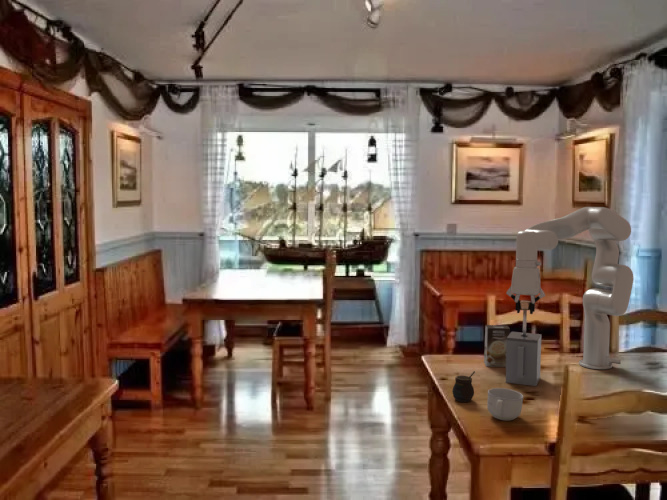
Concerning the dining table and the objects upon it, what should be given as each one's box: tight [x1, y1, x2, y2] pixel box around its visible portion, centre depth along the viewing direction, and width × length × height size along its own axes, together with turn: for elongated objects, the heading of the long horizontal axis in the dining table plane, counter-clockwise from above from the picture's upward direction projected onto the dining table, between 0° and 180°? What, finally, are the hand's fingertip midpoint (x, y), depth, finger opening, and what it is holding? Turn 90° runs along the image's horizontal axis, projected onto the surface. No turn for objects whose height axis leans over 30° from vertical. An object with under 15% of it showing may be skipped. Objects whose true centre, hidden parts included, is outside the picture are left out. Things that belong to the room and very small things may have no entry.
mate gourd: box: [451, 371, 476, 403], centre depth 212 cm, size 7×8×10 cm
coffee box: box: [483, 324, 511, 368], centre depth 255 cm, size 9×6×16 cm
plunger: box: [520, 300, 531, 337], centre depth 233 cm, size 9×9×17 cm
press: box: [505, 331, 542, 387], centre depth 233 cm, size 11×14×17 cm
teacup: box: [486, 387, 524, 422], centre depth 195 cm, size 14×11×8 cm
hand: (524, 312), depth 233 cm, fingers closed on plunger, 4 cm apart
